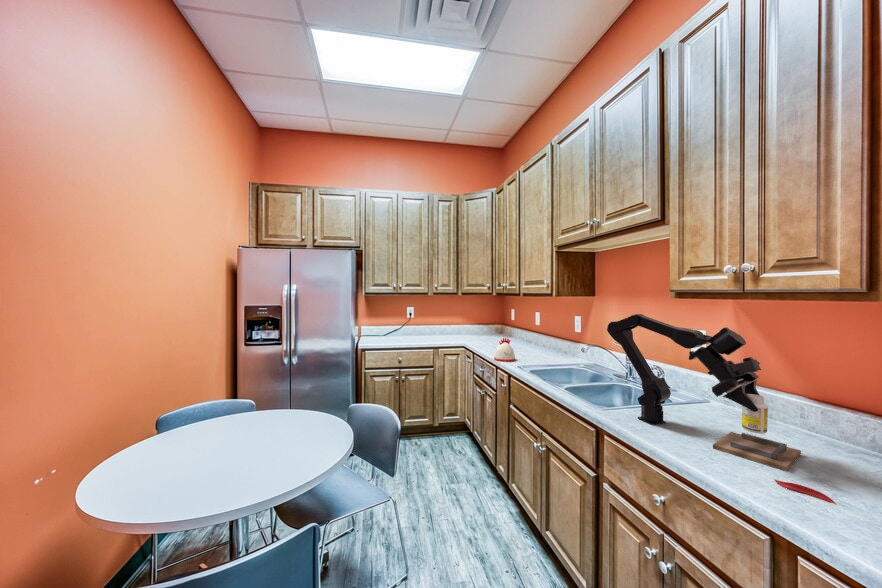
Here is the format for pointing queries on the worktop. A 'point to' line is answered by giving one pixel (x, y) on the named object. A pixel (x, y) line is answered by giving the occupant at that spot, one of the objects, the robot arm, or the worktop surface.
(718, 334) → the robot arm
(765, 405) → the supplement bottle
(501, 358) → the cream dome hat
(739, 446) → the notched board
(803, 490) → the cayenne pepper
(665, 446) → the worktop surface
